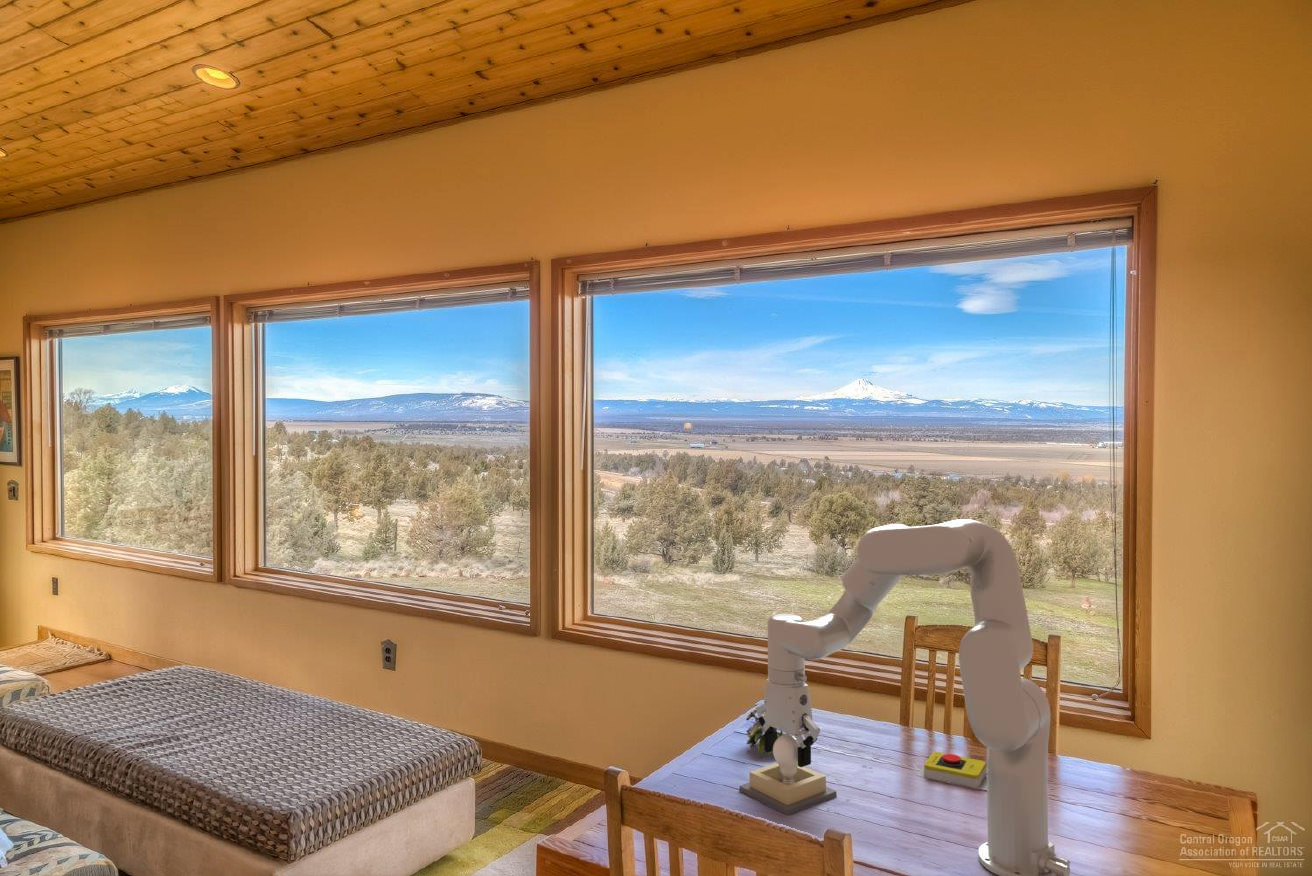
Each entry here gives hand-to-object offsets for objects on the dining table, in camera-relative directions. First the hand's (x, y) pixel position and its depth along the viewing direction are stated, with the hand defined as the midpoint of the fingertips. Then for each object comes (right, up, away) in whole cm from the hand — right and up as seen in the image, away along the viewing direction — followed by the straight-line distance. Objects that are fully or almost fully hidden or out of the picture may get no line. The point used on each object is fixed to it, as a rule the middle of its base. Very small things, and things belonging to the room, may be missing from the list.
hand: (787, 758), depth 170 cm
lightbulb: (0, -7, 0) cm, 7 cm away
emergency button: (+38, -8, +8) cm, 40 cm away
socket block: (0, -7, 0) cm, 7 cm away
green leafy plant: (0, -8, +24) cm, 26 cm away
